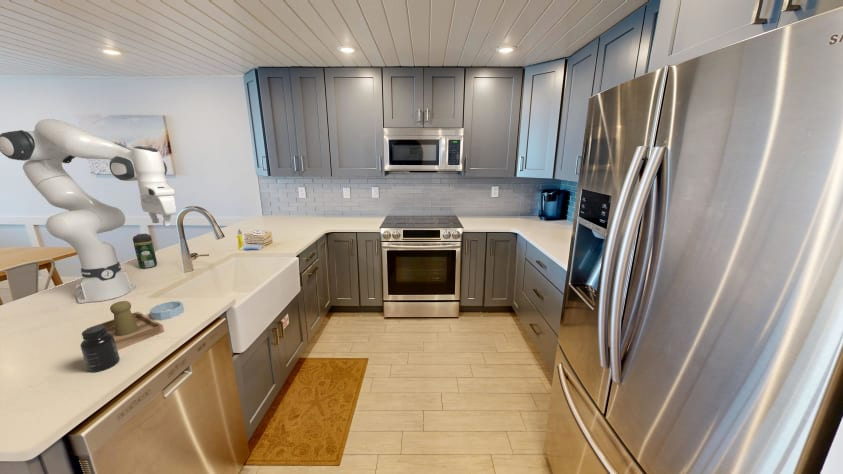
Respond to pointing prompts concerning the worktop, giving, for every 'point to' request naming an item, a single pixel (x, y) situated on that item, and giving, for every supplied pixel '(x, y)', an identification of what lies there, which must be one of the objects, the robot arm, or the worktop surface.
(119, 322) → the cork
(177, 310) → the light blue shallow dish
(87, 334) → the supplement bottle
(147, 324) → the tray
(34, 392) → the worktop surface
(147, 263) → the coffee jar
